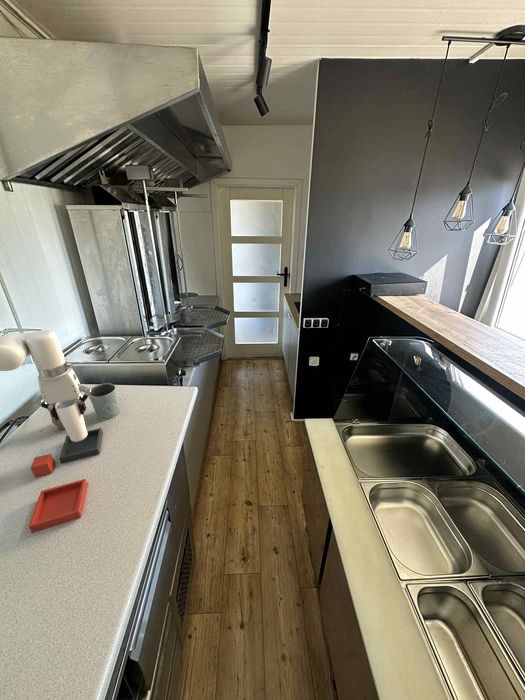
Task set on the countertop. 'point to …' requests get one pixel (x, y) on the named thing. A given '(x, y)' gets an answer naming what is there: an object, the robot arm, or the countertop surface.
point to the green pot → (104, 400)
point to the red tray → (58, 505)
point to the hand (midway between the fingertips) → (70, 414)
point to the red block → (42, 465)
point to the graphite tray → (82, 447)
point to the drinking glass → (72, 419)
